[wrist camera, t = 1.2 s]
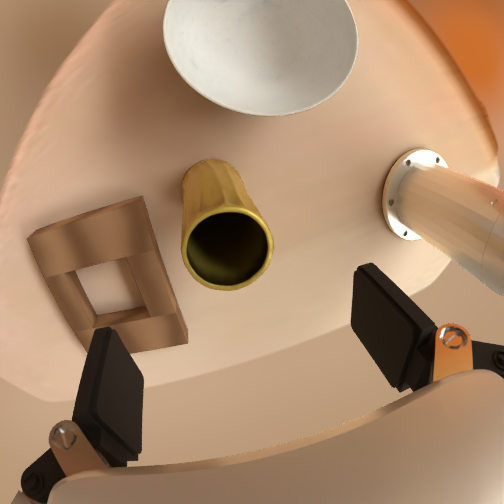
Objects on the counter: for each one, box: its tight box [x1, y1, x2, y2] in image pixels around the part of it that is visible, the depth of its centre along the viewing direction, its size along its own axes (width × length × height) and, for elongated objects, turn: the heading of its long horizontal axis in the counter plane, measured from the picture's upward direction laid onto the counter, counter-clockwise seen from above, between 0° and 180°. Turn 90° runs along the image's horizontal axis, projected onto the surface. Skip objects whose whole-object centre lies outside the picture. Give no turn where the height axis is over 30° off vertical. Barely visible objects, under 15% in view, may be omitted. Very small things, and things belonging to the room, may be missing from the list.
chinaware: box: [163, 0, 358, 116], centre depth 19 cm, size 15×15×8 cm
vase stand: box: [27, 196, 188, 354], centre depth 30 cm, size 14×18×2 cm
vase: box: [181, 160, 274, 291], centre depth 22 cm, size 6×6×14 cm
